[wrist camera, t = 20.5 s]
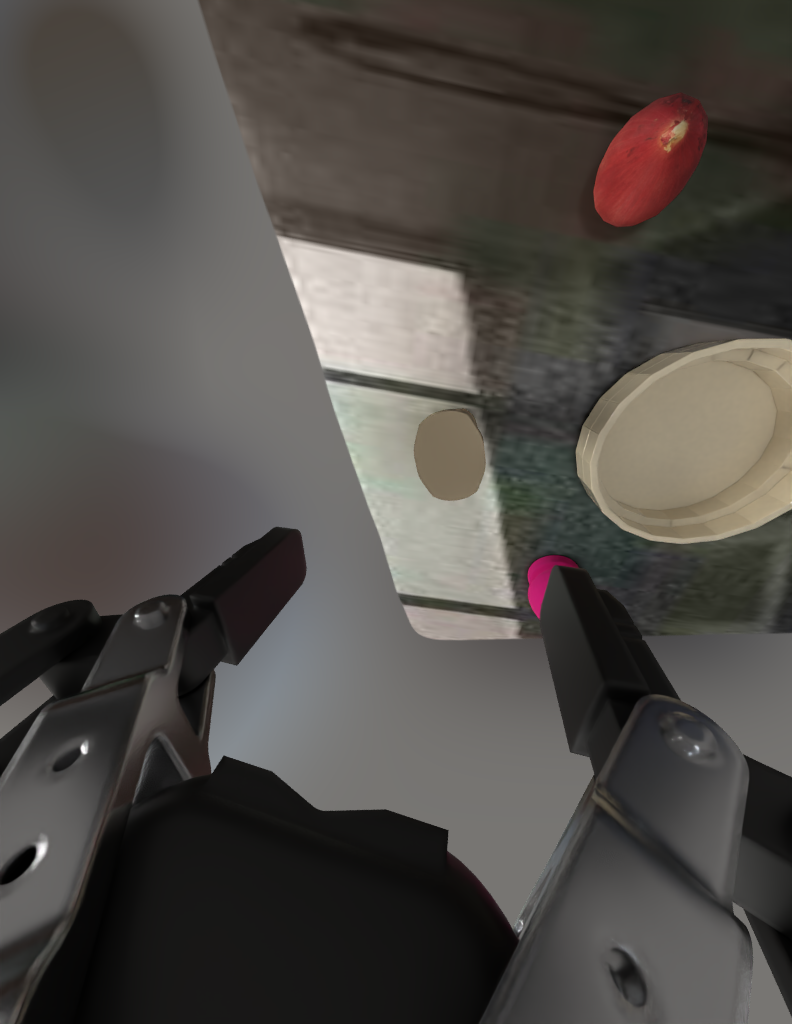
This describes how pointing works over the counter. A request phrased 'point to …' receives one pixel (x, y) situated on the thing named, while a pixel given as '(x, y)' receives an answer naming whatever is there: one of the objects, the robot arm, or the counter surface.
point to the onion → (650, 160)
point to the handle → (450, 454)
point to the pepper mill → (543, 578)
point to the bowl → (694, 442)
